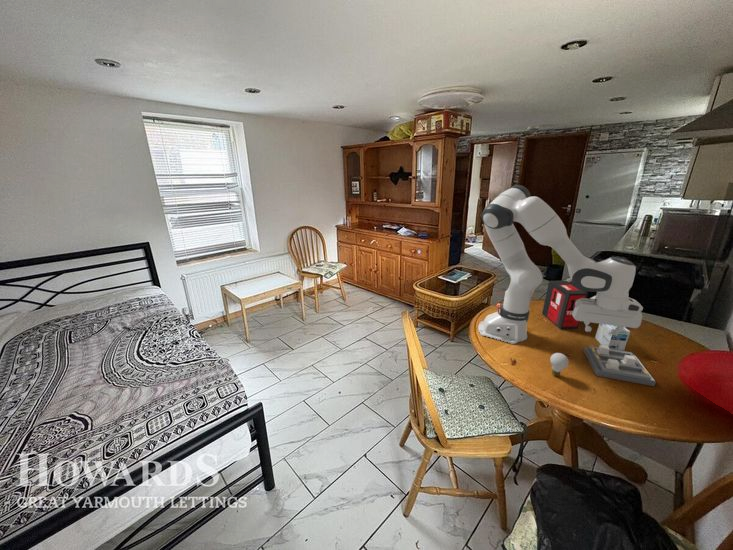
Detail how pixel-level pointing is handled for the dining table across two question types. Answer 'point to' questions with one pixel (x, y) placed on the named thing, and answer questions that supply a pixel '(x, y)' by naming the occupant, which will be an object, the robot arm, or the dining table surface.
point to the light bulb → (558, 363)
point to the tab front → (612, 364)
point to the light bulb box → (612, 337)
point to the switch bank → (625, 371)
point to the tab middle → (628, 360)
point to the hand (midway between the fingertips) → (600, 332)
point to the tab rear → (603, 349)
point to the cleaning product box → (562, 304)
